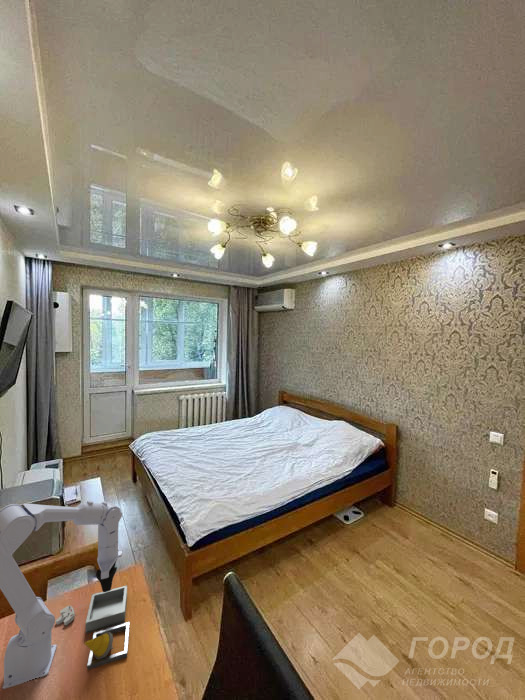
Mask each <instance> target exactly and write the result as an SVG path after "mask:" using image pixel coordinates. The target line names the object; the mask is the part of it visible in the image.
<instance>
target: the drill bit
mask: <svg viewBox="0 0 525 700" xmlns="http://www.w3.org/2000/svg"><path fill="white" fill-rule="evenodd" d="M113 642H114V636H113V634H112V633H110V632H105V633H103V634H102V635H101V636H99V637H96V638H94V639H93V638H91V639H88V640H87V641H85V642H84V645H85V646H86V647H87V648H88V649H89V651H90V650H91V651H92V652H93V653H94V654H93V657H94V658H95V660H98V659H101V658H104V657H107V656H108V654H109V653H110V651H111V650H113V649H114V646H113Z"/></svg>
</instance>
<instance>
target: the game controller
mask: <svg viewBox="0 0 525 700" xmlns="http://www.w3.org/2000/svg"><path fill="white" fill-rule="evenodd" d="M88 605H89V606H90V603H88V604H87V605H86V604H82V605H80V606H79V608H81V607H83V606H88ZM75 611H77V609H74V607H73V605H67V606H65V607H64V608H62V609H60V611H59V613H60V616H59V617H58V618H56V619H55V624H56V625H60V624H62V623H64V626H68V625H69V624H70V623H71V622H72V621H73V620H75V617H76V613H75Z"/></svg>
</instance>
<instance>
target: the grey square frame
mask: <svg viewBox="0 0 525 700" xmlns="http://www.w3.org/2000/svg"><path fill="white" fill-rule="evenodd" d="M124 631H125V635H124V636H125V637H124V647H123V649H124V650H123V651H119V652H117V653H114V654H111V655H110V654H109V655H107V656H106V657H104V658H101V659H95V660H93V659H94V653H93V652H92V651H91V650H90V649H89V655H88V661H87V664H86V665H87V667H86V669H87V671H89V670H91V669H94V668H97V667H101V666H105V665H108V664H110V663H114V662H117V661H119V660H122V659H126V658H128V651H129V636H130V621H128V622H125V623H122V624H118V625H115V626H111V627H108V628H104V629H100V630H97V631H93V635H92V639H94V638H96V637H99V636H101V635H102V634H103V633H105V632H110V633H112V635H114V634H117V633H121V632H124Z"/></svg>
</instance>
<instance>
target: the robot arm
mask: <svg viewBox="0 0 525 700" xmlns="http://www.w3.org/2000/svg"><path fill="white" fill-rule="evenodd" d="M23 506H24V507H23ZM122 515H123V512H122V511H121V508H120V507H119V506H117V505H115V504H114V503H112V502H110V501H108V500H104V501H102V502H100V503H96V502H94V501H91V500H87V502H82V503H79V504H78V505H77V506H76V507H75V506H61V505H48V504H47V505H46V504H36V503H23V504H22V505H21V504H18V503H12V504H8V505H6V506H4V507H2V508H1V509H0V591H1V593H2V594H3V595H4V598H5V599H6V600H7V602H8V604H9V605H10V607H11V608H12V610H13V612H14V613H15V618H14V622H15V623H16V625H17V626H18V628H19V632H18V634H15V635H13V636H12V637H10V639H9V641H8V643H7V646H6V648H5V649H6V650H5V653H4V658H3V684H2V689H3V690H5V689H8V688H11V687H15V686H17V685H21V684H24V682H25V683H28V682H30V681H29V680H31V681H33V680H32V679H34V680H36V679H35V678H37V679H39V677H40V678H42V677H45V676H47V675H48V674H49V672H50V669H51V665H52V662H53V659H54V657H55V653H56V650H57V646H58V645H57V644H55V643H54V644H52V634H53V633H52V631H53V628H54V626H55V624H56V618H55V615H54V614H53V613H52V612H51V611H50V609H49V608H48V607H47V606H46V604H45V602H44V599H42V597H40V596H36V594H35V592H34V591H33V589H32V587H31V586H30V584H29V582H28V581H27V579H26V577H25V575H24V574H23V572H22V571H21V568H20V567H19V565H18V563H17V562H16V560H15V559H14V556H13V554H14V553H15V551H16V550H18V549H19V548H20V546H21V545H22V544H23V543H24V542H25V541H26V540H27V539H28V537H29V536H30V535H31V534H32V532H33V531H35V532H37V531H39V529H40V528H41V527H42V526H43V525H44V524H45V523H53V522H68V521H69V522H70V521H72V522H73V524H74V525H76V526H83V525H84V526H90V525H92V526H93V525H95V526H96V525H97V526H98V528H97V559H96V561H97V564H98V567H99V569H97V570H96V572H95V578H96V579H97V580H98V581H99V584H100V587H101V590H102V591H101V592H107V591H110V590H111V589H112V585H113V581H114V580H113V579H114V577H115V575H116V574H117V569H118V567H117V566H116V563H117V560H118V558H121V557H122V556H123V551H122V550H119V523H120V521H121V519H122ZM27 681H28V682H27Z"/></svg>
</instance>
